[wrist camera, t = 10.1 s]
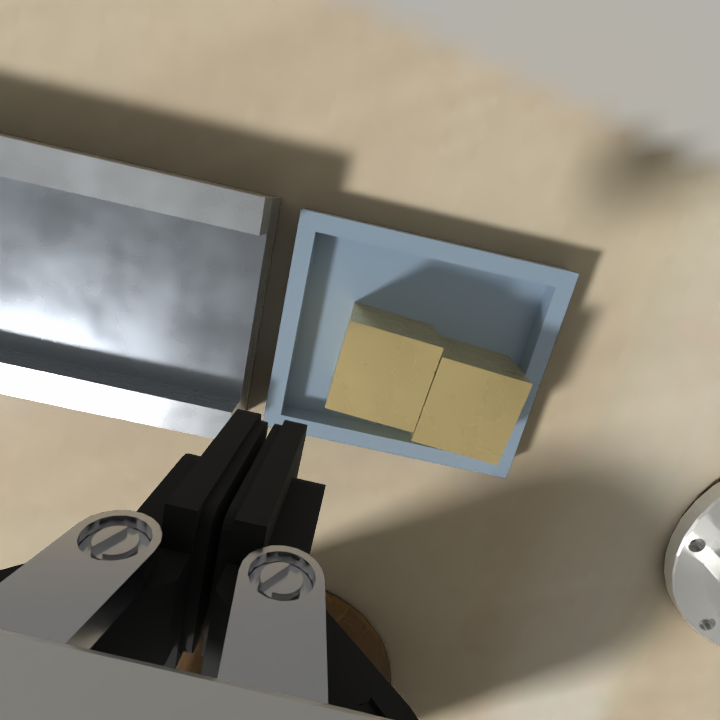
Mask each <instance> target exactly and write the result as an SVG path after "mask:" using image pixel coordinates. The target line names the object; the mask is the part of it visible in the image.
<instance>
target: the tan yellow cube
mask: <svg viewBox="0 0 720 720" xmlns="http://www.w3.org/2000/svg"><path fill="white" fill-rule="evenodd" d="M438 336H439V339H440V341H441V343H442V345H443V347H444V349H443V352H442V355H441V357H440V360H439V363H438V366H437V369H436V371H435V374H434V377H433V380H432V382H431V385H430V388H429V391H428V394H427V396H426V399H425V402H424V405H423V408H422V410H421V413H420V416H419V419H418V421H417V424H416V427H415V430H414V433H412V432H410V435H411V441H414V442H417V443H421V444H424V445H428V446H431V447H435V448H438V449H442V450H445V451H449V452H452V453H456V454H459V455H463V456H466V457H470V458H473V459H477V460H480V461H484V462H487V463H491V464H494V465H498V464H499V461H500V459H501V457H502V454H503V452H504V450H505V447H506V445H507V443H508V441H509V438H510V436H511V434H512V431H513V429H514V427H515V424H516V422H517V420H518V418H519V415H520V413H521V411H522V408H523V406H524V404H525V401H526V399H527V397H528V394H529V392H530V390H531V388H532V385H533V384H532V382H531V381H530V380H529V379H528V378H527V377H526V375H525V374H524V373H523V372H522V371H521V370H520V368H519V367H518V366H517V365H516V364H515V363H514V361H513V360H512V359H511V358H510V357H509V356H508V355H504V354H501V353H498V352H494V351H491V350H488V349H484V348H481V347H478V346H474V345H471V344H468V343H464V342H461V341H458V340H454V339H451V338H448V337H444V336H441V335H438Z"/></svg>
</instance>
